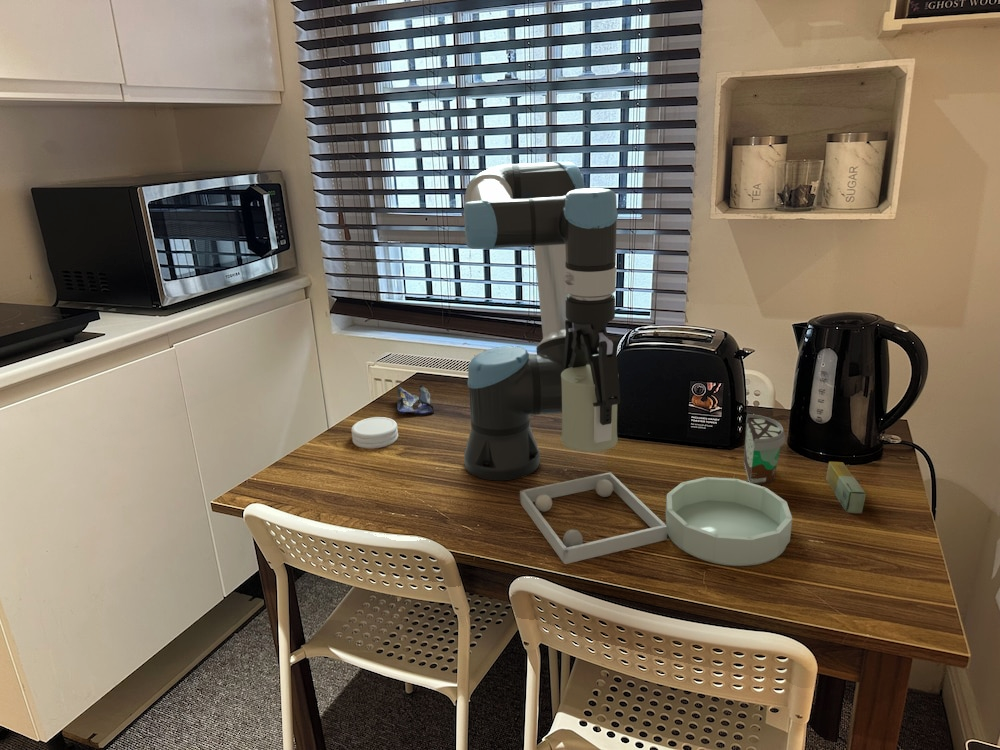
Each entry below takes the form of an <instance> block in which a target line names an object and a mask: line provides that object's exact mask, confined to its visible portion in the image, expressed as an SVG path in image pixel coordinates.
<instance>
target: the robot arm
mask: <svg viewBox="0 0 1000 750" xmlns="http://www.w3.org/2000/svg"><path fill="white" fill-rule="evenodd" d="M464 201H465V204H464V205H463V221H464V233H465V234H464V235H465V236H464V237H465V245H466V246H467V247H468V248H469V249H475V250H476V249H481V250H482V249H484V250H491V249H500V248H501V249H502V248H516V247H517V248H519V247H533V249H534V259H535V269H536V279H537V281H536V282H537V290H538V299H539V300H538V301H539V310H540V318H541V319H540V320H541V322H540V323H541V329H542V330H541V331H542V340H541V341H540V342H539V343H538V344H537V345H536V350H535V351H536V354H531V355H530V353H529V352H528V350H527V349H526V348H525V347H522V346H513V345H506V346H499V347H494V348H493V347H492V348H490V349H487V350H484V351H482V352H480V353H478V354H476V355H475V356H474V357H473V358H472V359H471V360H470V361H469V363H468V367H467V369H468V372H467V373H468V374H467V375H468V377H467V386H468V388H469V389H468V391H469V393H468V394H469V410H470V411H469V412H470V432H469V436H468V439H467V443H466V445H465V446H466V447H465V451H464V453H463V454H464V455H463V458H464V467H465V470H466V471H467V472H468V473H469V474H471V475H472V476H475V477H476V478H480V479H482V480H488V481H489V480H490V481H511V480H517V479H520V478H523V477H526V476H528V475H531V474H532V473H534V472H536V470H537V469H538V468H539V466H540V464H541V462H540V461H541V460H540V458H541V456H540V453H541V452H540V448H539V446H538V444H537V441H536V439H535V436H534V434H533V431H532V428H531V419H530V417H531V416H536V415H537V416H538V415H555V414H557V415H558V414H562V381H561V373H562V372H563V371H564V370H565V369H567V368H570V367H572V368H575V367H582V366H586V365H590V367H591V373H592V378H593V383H594V384H595V394H596V399H597V402H596V403H593V405H594V442H595V443H599V442H604V441H609V440H611V435H612V405H615V404H617V405H620V404H621V392H620V390H621V389H620V377H618V374H619V368H618V356H617V355H618V340H617V339H609V338H608V332H607V331H608V330H607V324H609V322H611V321H613V320H614V319H615V315H616V296H615V295H614V293H616V289H617V288H616V285H617V283H616V280H617V277H616V276H617V265H616V262H617V261H616V259H617V258H616V257H617V255H616V254H617V225H618V224H617V222H618V221H617V220H618V217H619V211H618V210H617V209H618V207H617V195H616V192H615V191H614V190H612V189H609V188H604V187H587V188H586V186H585V182H584V178H583V174H582V173H581V170H580V168H579V167H578V165H577V164H576V163H574V162H572V161H559V160H553V161H551V162H532V163H527V162H525V163H507V164H500V165H496V166H492V167H489V168H487V169H486V170H483V171H481V172H479V173H478V174H476V175H475V176H474V177H472V179H471V180H470V181H469V183H468V184H467V186H466V189H465V194H464Z"/></svg>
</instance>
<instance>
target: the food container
mask: <svg viewBox="0 0 1000 750" xmlns="http://www.w3.org/2000/svg"><path fill="white" fill-rule="evenodd" d="M785 442H786V432H785V430H784V428H783V426H782V424H781V423H780V422H779V421H777V420H776V419H772V418H771V417H767V416H763V415H759V414H753V413H747V414H746V419H745V439H744V452H743V455H744V456H743V465H745V466H744V469H746V470H745V473H747V474H746V478H747V477H748V478H747V482H748V481H749V483H753V484H756V485H759V486H761V485H763V486H766V485H769V484H771V483H772V482H774V480H775V478H774V477H775V476H776V472H777V466H778V461H779V460H778V459H779V456H780V451H781V447H782V446H783V445H785Z"/></svg>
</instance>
